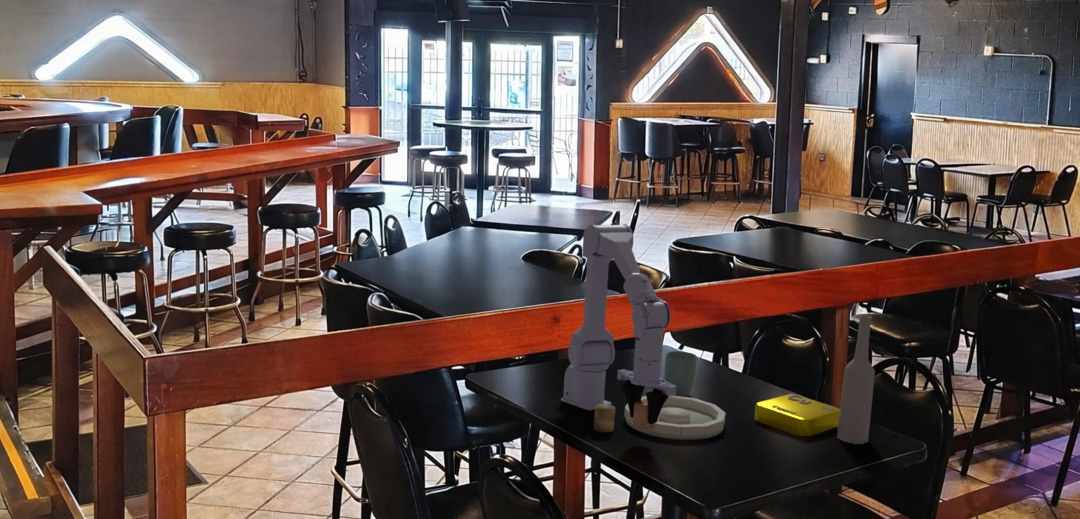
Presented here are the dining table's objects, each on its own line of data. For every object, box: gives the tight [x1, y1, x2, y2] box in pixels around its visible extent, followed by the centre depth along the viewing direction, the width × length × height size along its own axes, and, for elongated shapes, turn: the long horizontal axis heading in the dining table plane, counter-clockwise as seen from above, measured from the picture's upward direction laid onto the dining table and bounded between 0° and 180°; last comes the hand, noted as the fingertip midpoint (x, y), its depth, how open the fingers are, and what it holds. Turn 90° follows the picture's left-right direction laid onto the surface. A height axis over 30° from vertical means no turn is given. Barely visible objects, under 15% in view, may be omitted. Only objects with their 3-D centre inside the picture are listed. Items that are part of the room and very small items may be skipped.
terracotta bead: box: [633, 400, 654, 430], centre depth 222 cm, size 4×4×5 cm
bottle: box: [836, 314, 876, 445], centre depth 229 cm, size 7×7×28 cm
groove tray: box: [623, 395, 726, 441], centre depth 236 cm, size 22×22×3 cm
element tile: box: [754, 393, 840, 437], centre depth 241 cm, size 15×15×5 cm
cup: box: [663, 350, 698, 397], centre depth 257 cm, size 8×8×10 cm
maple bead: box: [593, 404, 616, 433], centre depth 230 cm, size 4×4×5 cm
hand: (643, 419), depth 222 cm, fingers closed on terracotta bead, 4 cm apart
